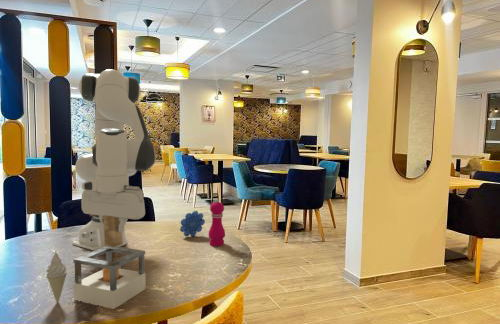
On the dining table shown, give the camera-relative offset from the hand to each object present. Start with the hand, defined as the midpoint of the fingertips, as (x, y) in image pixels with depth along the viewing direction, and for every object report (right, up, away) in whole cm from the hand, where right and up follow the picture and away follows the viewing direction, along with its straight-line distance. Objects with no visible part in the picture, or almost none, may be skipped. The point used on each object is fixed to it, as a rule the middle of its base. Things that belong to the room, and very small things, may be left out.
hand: (113, 231), depth 107 cm
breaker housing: (-1, -19, +1) cm, 19 cm away
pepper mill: (+26, -16, +51) cm, 59 cm away
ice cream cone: (-14, -20, -5) cm, 24 cm away
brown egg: (-1, -16, +1) cm, 16 cm away
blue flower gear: (+13, -14, +63) cm, 66 cm away
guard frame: (-1, -14, +1) cm, 14 cm away
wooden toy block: (0, -4, 0) cm, 4 cm away
